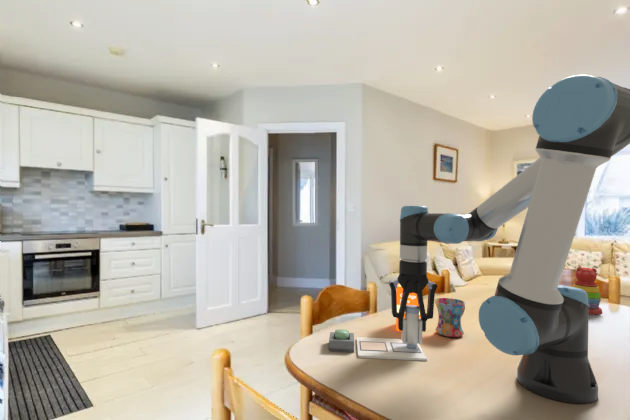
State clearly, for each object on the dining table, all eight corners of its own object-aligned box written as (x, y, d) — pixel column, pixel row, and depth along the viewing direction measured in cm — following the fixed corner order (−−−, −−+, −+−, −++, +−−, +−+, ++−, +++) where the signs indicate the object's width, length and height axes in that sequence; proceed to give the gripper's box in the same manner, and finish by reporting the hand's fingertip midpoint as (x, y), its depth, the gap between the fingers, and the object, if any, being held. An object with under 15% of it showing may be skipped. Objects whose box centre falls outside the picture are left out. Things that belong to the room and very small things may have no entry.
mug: (452, 341, 109) (452, 306, 109) (428, 332, 117) (428, 299, 117) (476, 334, 115) (476, 301, 115) (452, 326, 123) (452, 295, 123)
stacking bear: (601, 310, 146) (601, 267, 146) (604, 316, 137) (605, 270, 137) (568, 306, 151) (568, 264, 151) (570, 312, 143) (570, 267, 143)
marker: (419, 350, 100) (420, 308, 100) (405, 349, 100) (406, 308, 100) (417, 344, 104) (417, 305, 104) (403, 344, 104) (404, 304, 104)
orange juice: (395, 330, 118) (396, 270, 118) (398, 322, 126) (399, 266, 127) (420, 333, 116) (420, 271, 116) (422, 325, 124) (422, 267, 124)
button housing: (354, 352, 99) (354, 341, 99) (328, 351, 100) (329, 340, 100) (353, 343, 106) (353, 333, 106) (330, 342, 107) (330, 332, 107)
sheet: (426, 360, 94) (426, 358, 94) (358, 357, 96) (358, 354, 96) (416, 341, 108) (416, 339, 108) (356, 339, 110) (356, 336, 110)
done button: (348, 341, 101) (348, 334, 101) (334, 340, 101) (334, 333, 101) (348, 336, 105) (348, 329, 105) (335, 335, 105) (335, 328, 105)
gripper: (440, 258, 105) (438, 338, 105) (381, 257, 106) (380, 335, 106) (447, 262, 97) (445, 348, 97) (384, 261, 99) (382, 345, 99)
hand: (411, 341), depth 102 cm, fingers closed on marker, 4 cm apart
